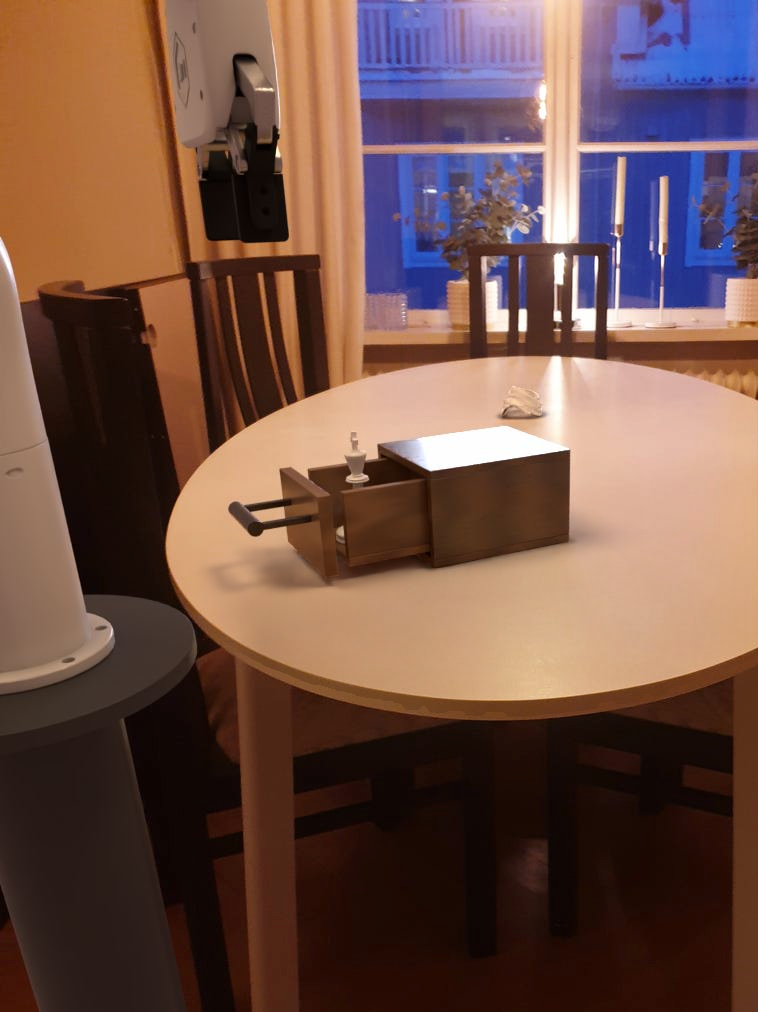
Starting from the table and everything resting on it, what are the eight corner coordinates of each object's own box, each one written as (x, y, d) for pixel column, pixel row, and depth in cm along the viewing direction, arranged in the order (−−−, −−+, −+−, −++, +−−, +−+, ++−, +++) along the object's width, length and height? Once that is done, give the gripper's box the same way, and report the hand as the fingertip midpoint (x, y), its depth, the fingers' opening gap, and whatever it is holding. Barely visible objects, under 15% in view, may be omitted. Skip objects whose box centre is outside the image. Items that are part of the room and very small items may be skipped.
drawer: (261, 590, 79) (250, 507, 76) (229, 552, 89) (218, 477, 86) (463, 551, 87) (460, 474, 84) (414, 519, 96) (410, 449, 93)
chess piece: (382, 526, 91) (375, 423, 87) (393, 542, 87) (385, 434, 82) (332, 532, 90) (322, 428, 85) (340, 548, 85) (330, 439, 81)
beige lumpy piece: (504, 415, 152) (501, 385, 151) (545, 411, 151) (542, 380, 150) (499, 422, 145) (496, 390, 143) (542, 418, 144) (539, 385, 142)
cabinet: (434, 568, 86) (429, 471, 82) (383, 531, 96) (376, 443, 92) (569, 541, 92) (570, 449, 88) (507, 509, 102) (506, 425, 98)
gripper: (125, -33, 63) (167, 241, 70) (174, -107, 49) (220, 246, 56) (235, -25, 66) (265, 238, 73) (310, -92, 52) (338, 241, 59)
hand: (245, 241), depth 65 cm, fingers open, 9 cm apart
